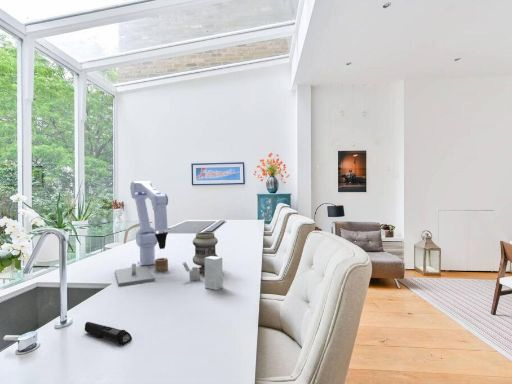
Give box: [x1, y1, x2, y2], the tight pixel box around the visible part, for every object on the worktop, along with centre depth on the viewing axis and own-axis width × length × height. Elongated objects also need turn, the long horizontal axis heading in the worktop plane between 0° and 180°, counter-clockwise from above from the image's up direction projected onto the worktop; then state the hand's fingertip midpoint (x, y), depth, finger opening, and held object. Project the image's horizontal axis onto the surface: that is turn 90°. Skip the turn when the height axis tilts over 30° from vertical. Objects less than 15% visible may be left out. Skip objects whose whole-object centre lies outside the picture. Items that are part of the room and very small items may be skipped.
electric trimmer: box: [84, 321, 133, 347], centre depth 80 cm, size 4×16×3 cm, turn 65°
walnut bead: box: [154, 257, 169, 272], centre depth 143 cm, size 5×5×5 cm
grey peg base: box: [114, 262, 156, 287], centre depth 133 cm, size 22×14×6 cm, turn 29°
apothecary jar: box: [192, 231, 219, 275], centre depth 141 cm, size 12×12×18 cm
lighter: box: [182, 261, 201, 281], centre depth 128 cm, size 7×2×8 cm, turn 107°
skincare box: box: [204, 256, 224, 291], centre depth 118 cm, size 6×4×12 cm
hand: (162, 248), depth 141 cm, fingers open, 7 cm apart
